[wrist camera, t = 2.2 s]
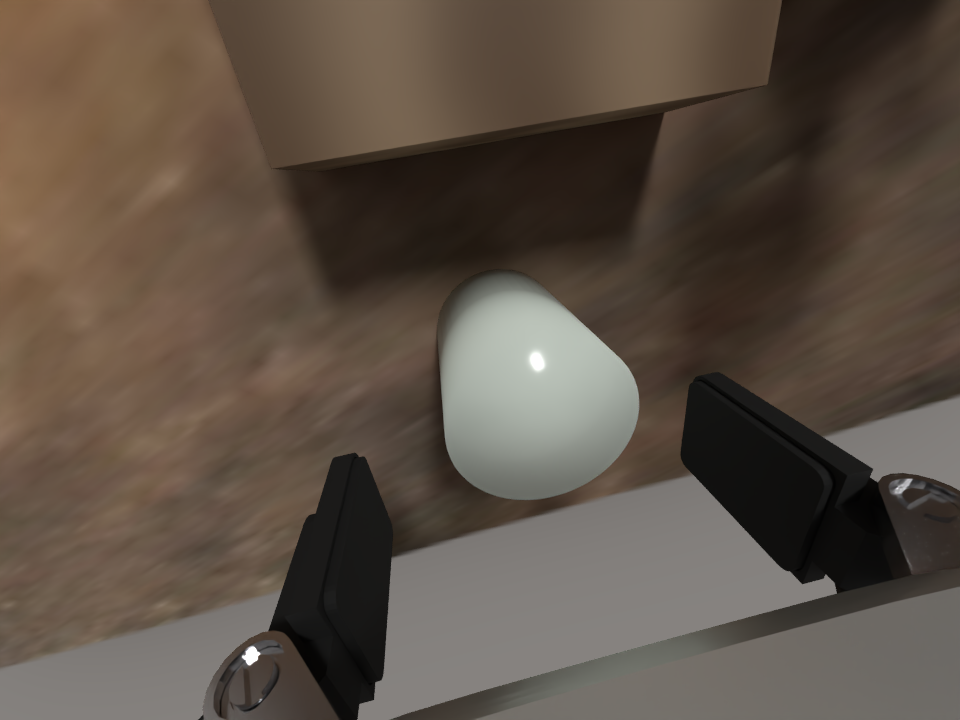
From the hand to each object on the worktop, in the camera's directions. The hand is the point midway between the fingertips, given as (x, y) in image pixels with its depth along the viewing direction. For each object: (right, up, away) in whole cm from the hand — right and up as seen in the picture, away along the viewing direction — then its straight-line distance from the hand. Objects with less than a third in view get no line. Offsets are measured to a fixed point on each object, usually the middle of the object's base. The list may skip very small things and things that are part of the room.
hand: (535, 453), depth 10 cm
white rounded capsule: (-1, +4, +8) cm, 9 cm away
